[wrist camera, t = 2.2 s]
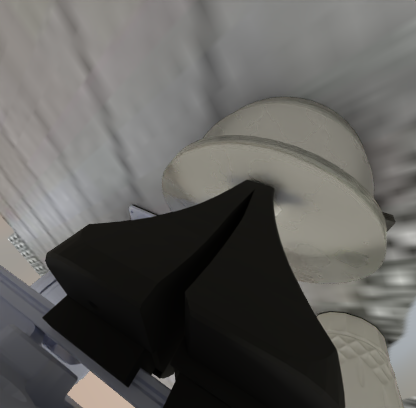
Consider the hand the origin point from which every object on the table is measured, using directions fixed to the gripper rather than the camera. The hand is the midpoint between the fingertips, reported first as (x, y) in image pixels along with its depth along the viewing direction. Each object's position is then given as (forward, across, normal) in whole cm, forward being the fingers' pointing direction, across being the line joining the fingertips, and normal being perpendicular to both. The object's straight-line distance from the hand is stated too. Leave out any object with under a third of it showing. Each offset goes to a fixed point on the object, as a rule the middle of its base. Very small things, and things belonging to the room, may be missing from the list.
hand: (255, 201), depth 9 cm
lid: (+3, 0, +4) cm, 5 cm away
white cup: (+9, -13, +19) cm, 25 cm away
